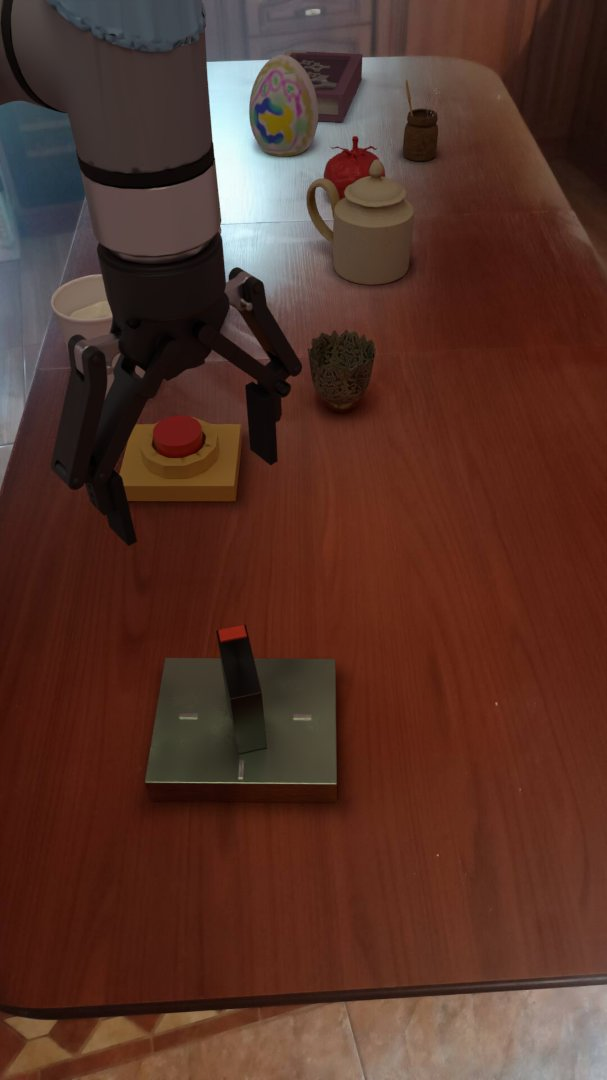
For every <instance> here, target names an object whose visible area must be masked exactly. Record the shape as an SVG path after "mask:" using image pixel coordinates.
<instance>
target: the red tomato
mask: <svg viewBox="0 0 607 1080" xmlns="http://www.w3.org/2000/svg"><path fill="white" fill-rule="evenodd" d="M351 141H352V148H351V149H348V148H343V147H340V146H334V147H332V146H330V149H331V150H334V149H340V150H342V151H340V152H338V153H337V154H336V155H334V156H332V157H331V158H330V159H329V160H328V161H327V162H326V164H325V166H324V170H323V178H325V179H328V180H330V181H331V182H332V183H333V184H334V185H335V187H336V189H337V191H338V194H339V199H340V200H342V199H343V198H345V194H344V191H345V189H346V187H347V186H349V185H351V184H353V183H354V182H355V181H357V180H358V179H361V178H364V177H368V176H371V175H370V174H369V169H370V166H371V164H372V162H373V161H374V160H376V159H378V160H379V161H380V158H379V157H378V156H377V155H376V154H374V153H373V152H372V151H369V150H370V149H372V150H374V151H376V150H377V149H378V147H376V148H375V147H374V146H372V145H370V146H368V147H364V148H363V147H359V136H358V135H354V136H352V139H351ZM381 164H382V166H383V170H384V172H383V174H382V176H381V177H386V170H385V169H386V168H385V166H384V164H383V162H381Z"/></svg>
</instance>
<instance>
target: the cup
mask: <svg viewBox="0 0 607 1080" xmlns="http://www.w3.org/2000/svg"><path fill="white" fill-rule="evenodd" d="M359 336H360V335H359V334H358V332H357V331H352V332H349V330H348V329H345V330H344V331H343V332H342V333H340V335H339V333H338V332H337V331H336V330H335V329H334V330H333V331H332V332H331V334H329V333H325V332H320V333H319V334H318V336H317V337H316V338H314V337H313V338H312V339H311V348H309V347H307V355H308V363H309V369H310V376H311V381H312V384H313V388H314V389H315V392H316V393H317V395H318V396H319V397H320V398H321V399H322V400H323V401H324V404H325V406H326V408H327V409H328V411H330V412H332V413H334V414H346V413H349V412H351V411H352V410H353V409H354V408H355V407H356V404H357V401H358V400H359V399H361V398H362V397H363V396H364V394H365V393H366V392H367V389H368V388H369V385H370V381H371V377H372V372H373V367H374V362H375V358H376V357H375V356H376V353H377V348H376V347H375V346H376V344H375V341H374V340H373V339H370V340H368V339H367V336H366V334H362V335H361V336H360V337H359ZM367 340H368V341H367Z"/></svg>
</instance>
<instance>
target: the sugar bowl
mask: <svg viewBox="0 0 607 1080" xmlns="http://www.w3.org/2000/svg"><path fill="white" fill-rule="evenodd" d="M381 163H382V161H380V159H379V160H378V159H376V160H374V161H373V162H372V164H371V166H370V169H369V174H370V175H371V176H368V177H364V178H361V179H358V180H357V181H355V182H354V183H353V184H351V185H349V186H347V187H346V189H345V191H344V194H345V198H343V199H342V200H340V199H339V194H338V191H337V189H336V187H335V185H334V184H333V183H332V182H331V181H330V180H328V179H325V178H324V177H323V178H322V177H321V178H317V179H315V180H314V181H312V182H311V183H310V185H309V186H308V188H307V191H306V196H305V197H306V199H305V200H306V201H305V202H306V208H307V211H308V215H309V218H310V221H311V222H312V224H313V226H314V227H315V229H316V230H317V231H318V232H319V234H320V235H321V236H322V237H323V238H324V239H325V240H326V241H328V243H329V244H330V245H331V246H332V257H333V258H332V263H333V270H334V271H335V273H336V274H337V275H338V276H340V277H341V278H342V279H344V280H346V281H348V282H351V283H354V284H359V285H368V286H375V285H376V286H377V285H385V284H391V283H393V282H395V281H398V280H400V279H401V278H403V277H404V276H405V275H406V274H407V272H408V270H409V266H410V259H411V251H412V250H411V249H412V241H413V230H414V217H415V209H414V207H413V205H412V203H411V202H409V200H407V199H406V196H407V193H408V192H407V190H406V189H405V188H404V187H403V186H402V185H400V184H399V183H398V182H396V181H395V180H394V179H391V178H389V177H388V176H387V177H386V176H385V177H381V176H382V174H383V172H384V170H383V166H384V165H383V166H382V164H383V163H382V164H381ZM317 188H322V190H324V192H325V193H326V194H327V196H328V199H329V204H330V207H331V208H330V209H331V212H332V213H331V214H332V218H333V226H332V227H333V228H332V229H331V228H330V227H329V226H328V224H327V223H326V222H325V221H324V219H323V217H322V216H321V214H320V212H319V209H318V204H317V200H316V191H317Z"/></svg>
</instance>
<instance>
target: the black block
mask: <svg viewBox="0 0 607 1080" xmlns="http://www.w3.org/2000/svg"><path fill="white" fill-rule="evenodd" d="M215 633H216V639H217V646H218V652H219V658H220V659H221V665H222V672H223V678H224V685H225V690H226V695H227V700H228V705H229V710H230V715H231V720H232V725H233V730H234V735H235V740H236V745H237V750H238V754H239V753H244V752H248V751H253V750H257V749H262V748H266V747H267V741H266V730H265V720H264V710H263V699H262V691H261V687H260V682H259V678H258V674H257V670H256V666H255V661H254V658H255V657H254V654H253V649H252V644H251V641H250V636H249V632H248V629H247V624H242V625H236V626H231V627H227V628H226V627H225V628H222V629H216V630H215Z"/></svg>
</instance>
